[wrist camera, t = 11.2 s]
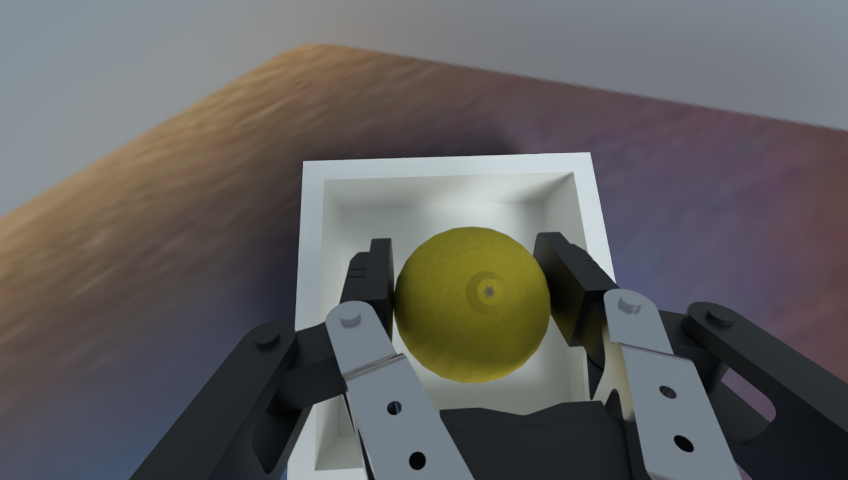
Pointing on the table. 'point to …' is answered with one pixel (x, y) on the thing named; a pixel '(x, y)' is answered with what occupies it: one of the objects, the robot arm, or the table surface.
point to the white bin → (409, 228)
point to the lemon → (471, 304)
